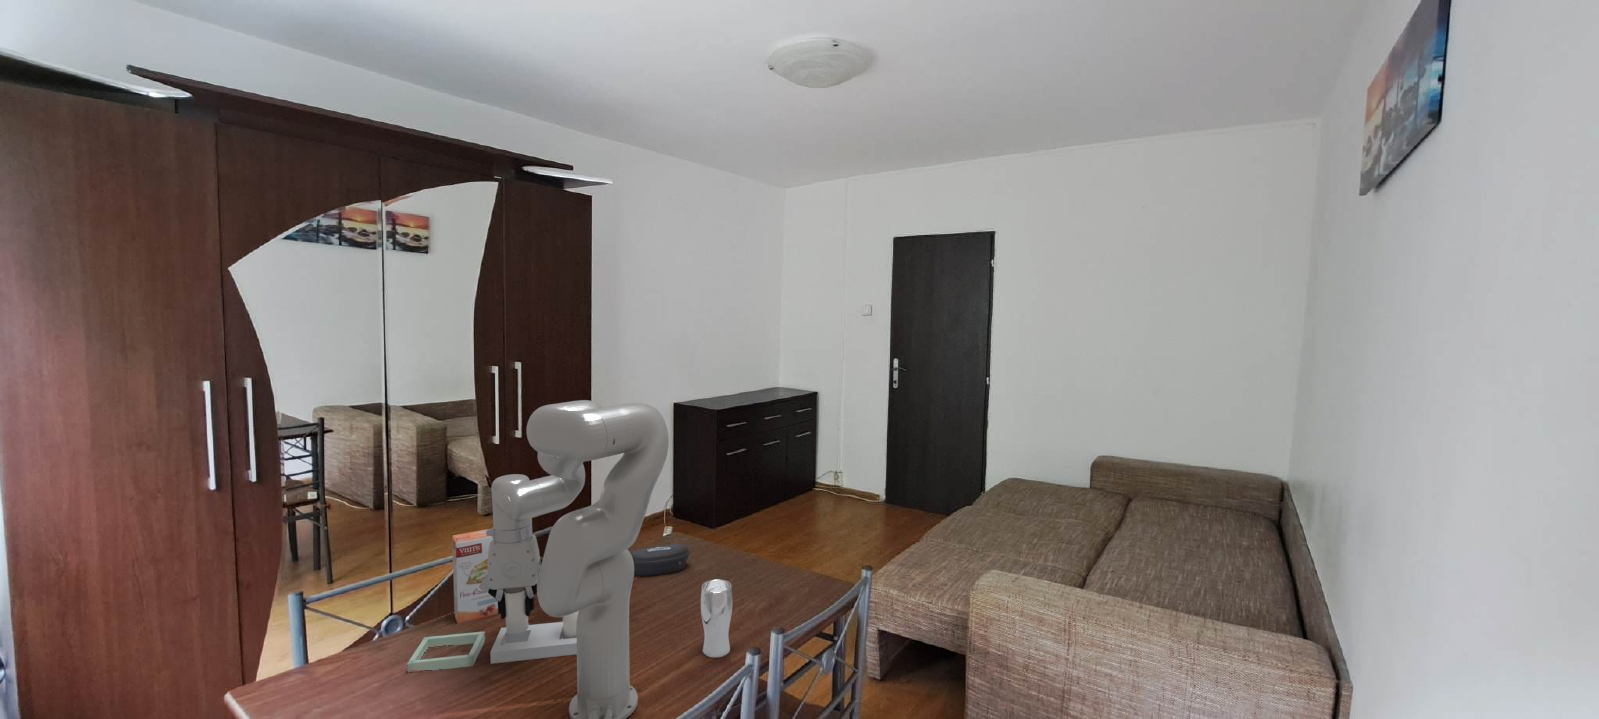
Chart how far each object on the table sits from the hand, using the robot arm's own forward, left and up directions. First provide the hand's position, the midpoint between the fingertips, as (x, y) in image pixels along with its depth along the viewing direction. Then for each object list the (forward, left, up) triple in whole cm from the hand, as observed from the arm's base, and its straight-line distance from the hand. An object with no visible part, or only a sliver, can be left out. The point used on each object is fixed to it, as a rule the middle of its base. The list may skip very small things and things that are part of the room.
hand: (516, 613), depth 136 cm
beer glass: (-8, -43, -9) cm, 44 cm away
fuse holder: (0, -6, -9) cm, 11 cm away
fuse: (0, -12, -8) cm, 14 cm away
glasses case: (+38, -31, -10) cm, 49 cm away
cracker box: (+19, +10, -9) cm, 24 cm away
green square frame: (0, +14, -9) cm, 17 cm away
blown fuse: (0, 0, -3) cm, 3 cm away
